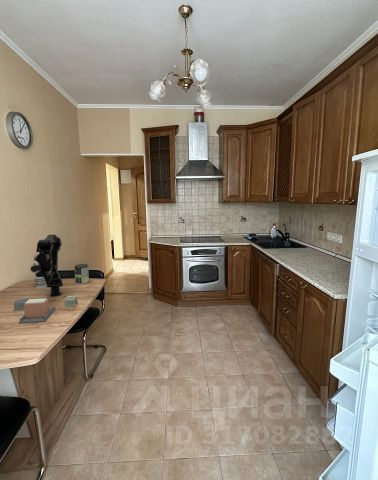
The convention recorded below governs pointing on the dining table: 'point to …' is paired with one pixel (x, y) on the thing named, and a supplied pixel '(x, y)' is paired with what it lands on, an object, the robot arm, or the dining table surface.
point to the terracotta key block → (36, 308)
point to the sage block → (70, 301)
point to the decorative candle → (39, 280)
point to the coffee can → (81, 273)
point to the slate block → (20, 304)
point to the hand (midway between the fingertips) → (48, 284)
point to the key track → (37, 319)
